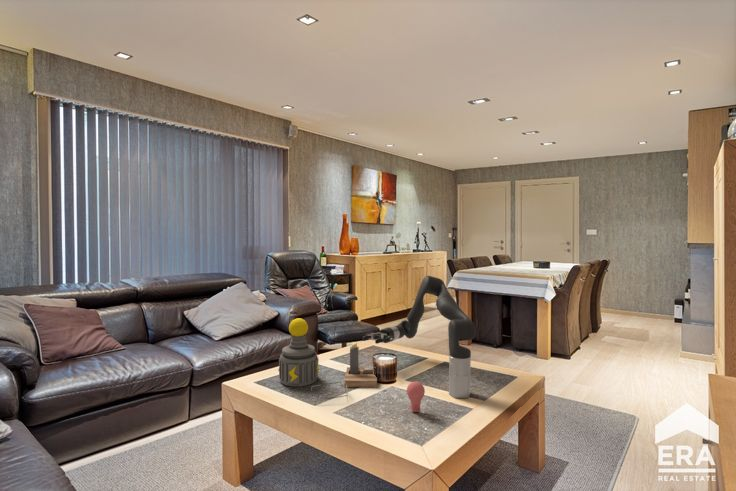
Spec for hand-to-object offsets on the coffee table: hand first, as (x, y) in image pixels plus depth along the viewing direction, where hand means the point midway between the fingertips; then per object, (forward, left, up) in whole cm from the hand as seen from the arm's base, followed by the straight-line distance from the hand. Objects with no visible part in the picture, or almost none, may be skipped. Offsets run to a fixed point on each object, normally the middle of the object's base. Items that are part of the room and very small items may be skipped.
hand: (369, 340), depth 216 cm
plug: (-8, +7, -17) cm, 20 cm away
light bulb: (-44, -19, -17) cm, 51 cm away
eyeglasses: (-29, +17, -17) cm, 38 cm away
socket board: (-10, +4, -17) cm, 20 cm away
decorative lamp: (-11, +34, -17) cm, 39 cm away
